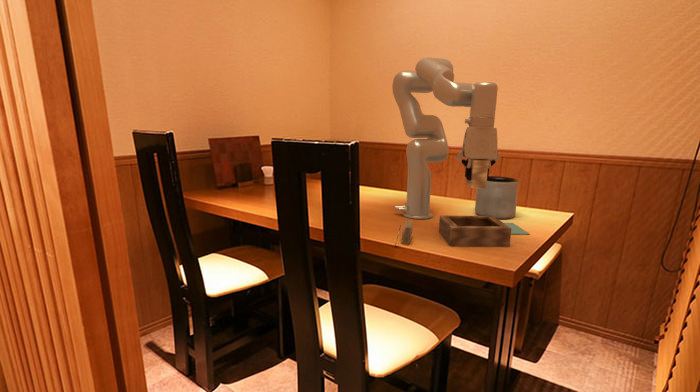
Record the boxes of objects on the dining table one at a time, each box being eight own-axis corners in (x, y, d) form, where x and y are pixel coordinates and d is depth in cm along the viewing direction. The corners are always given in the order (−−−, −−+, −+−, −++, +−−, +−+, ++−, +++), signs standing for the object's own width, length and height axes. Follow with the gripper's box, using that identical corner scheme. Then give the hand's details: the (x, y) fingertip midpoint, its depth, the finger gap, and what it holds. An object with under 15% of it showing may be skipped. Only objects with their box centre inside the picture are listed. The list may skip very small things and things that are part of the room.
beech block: (471, 188, 119) (474, 160, 117) (466, 184, 125) (468, 158, 123) (485, 188, 119) (488, 160, 117) (479, 184, 125) (481, 158, 123)
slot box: (450, 246, 118) (451, 227, 116) (438, 231, 132) (439, 215, 131) (509, 246, 118) (511, 228, 117) (491, 232, 132) (493, 215, 131)
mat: (495, 234, 130) (495, 233, 130) (481, 223, 144) (481, 222, 144) (529, 234, 130) (529, 233, 130) (512, 223, 144) (512, 222, 144)
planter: (516, 221, 146) (520, 183, 143) (473, 217, 152) (476, 180, 149) (513, 212, 161) (517, 177, 158) (475, 209, 167) (478, 174, 163)
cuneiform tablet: (394, 247, 116) (396, 235, 128) (408, 251, 116) (409, 238, 127) (400, 226, 115) (401, 216, 126) (414, 230, 114) (414, 219, 126)
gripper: (458, 123, 113) (453, 181, 117) (513, 123, 114) (506, 182, 118) (451, 122, 121) (447, 177, 125) (503, 123, 121) (497, 178, 125)
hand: (476, 179), depth 121 cm, fingers closed on beech block, 4 cm apart
